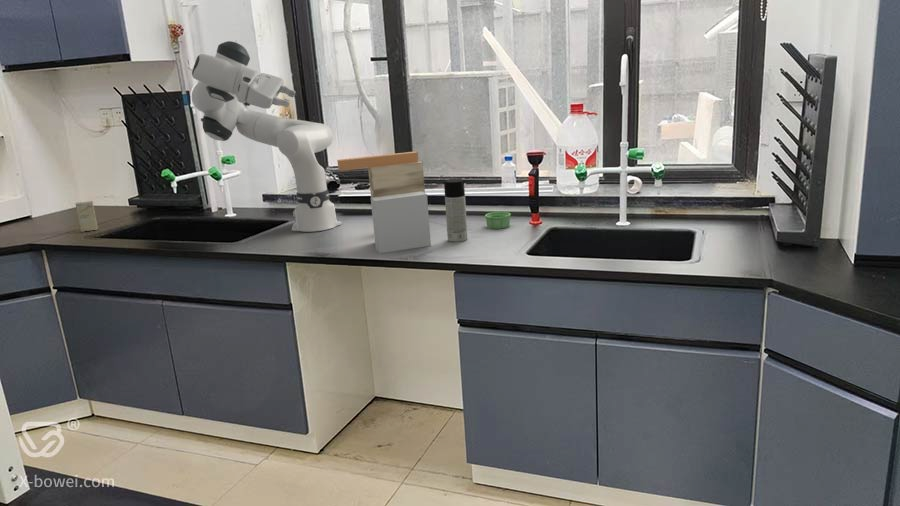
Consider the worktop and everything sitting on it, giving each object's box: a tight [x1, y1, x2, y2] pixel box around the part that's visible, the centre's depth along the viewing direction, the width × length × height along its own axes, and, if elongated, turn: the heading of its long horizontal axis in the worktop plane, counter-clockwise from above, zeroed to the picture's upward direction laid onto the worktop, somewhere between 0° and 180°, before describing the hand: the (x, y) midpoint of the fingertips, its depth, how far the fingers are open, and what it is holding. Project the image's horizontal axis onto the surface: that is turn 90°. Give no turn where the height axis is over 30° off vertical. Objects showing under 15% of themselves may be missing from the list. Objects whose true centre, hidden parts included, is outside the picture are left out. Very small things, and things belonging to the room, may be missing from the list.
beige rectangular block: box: [367, 160, 426, 199], centre depth 218 cm, size 6×17×26 cm, turn 109°
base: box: [370, 191, 432, 254], centre depth 210 cm, size 6×17×17 cm, turn 109°
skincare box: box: [75, 200, 99, 232], centre depth 271 cm, size 6×4×12 cm
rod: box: [336, 151, 419, 172], centre depth 212 cm, size 3×26×3 cm, turn 109°
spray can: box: [443, 178, 468, 243], centre depth 214 cm, size 7×7×20 cm
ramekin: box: [485, 211, 511, 230], centre depth 231 cm, size 9×9×4 cm
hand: (292, 99), depth 202 cm, fingers open, 8 cm apart
